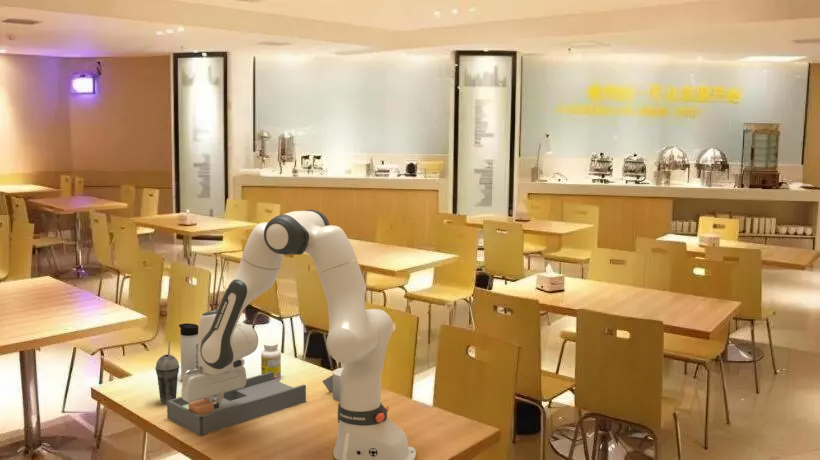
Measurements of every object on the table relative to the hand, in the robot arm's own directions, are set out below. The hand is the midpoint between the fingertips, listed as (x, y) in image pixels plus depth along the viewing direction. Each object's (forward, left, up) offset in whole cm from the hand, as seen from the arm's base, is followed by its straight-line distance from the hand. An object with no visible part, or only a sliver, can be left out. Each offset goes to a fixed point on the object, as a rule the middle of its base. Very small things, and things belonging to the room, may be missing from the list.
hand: (214, 408), depth 228 cm
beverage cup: (+22, -8, -4) cm, 24 cm away
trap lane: (-2, -11, -4) cm, 12 cm away
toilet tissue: (-28, -33, -4) cm, 43 cm away
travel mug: (+27, -28, -4) cm, 39 cm away
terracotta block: (+2, +4, -1) cm, 5 cm away
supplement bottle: (+2, -39, -4) cm, 40 cm away
